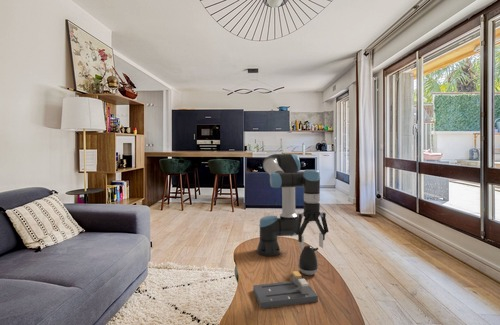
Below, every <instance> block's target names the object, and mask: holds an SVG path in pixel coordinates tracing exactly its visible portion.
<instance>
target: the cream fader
mask: <svg viewBox="0 0 500 325" xmlns="http://www.w3.org/2000/svg"><path fill="white" fill-rule="evenodd" d="M309 286H310V285H309V282H307V280H306V279H305V278H302V279H298V289H299V291H300V292H301V293H302V294H309Z"/></svg>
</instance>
